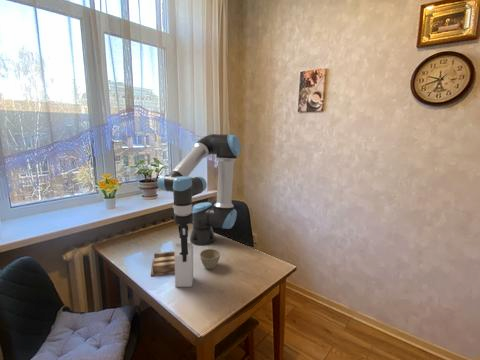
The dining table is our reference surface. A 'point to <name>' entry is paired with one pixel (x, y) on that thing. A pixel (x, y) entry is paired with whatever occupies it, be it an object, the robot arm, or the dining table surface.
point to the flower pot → (210, 258)
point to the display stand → (163, 264)
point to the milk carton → (185, 274)
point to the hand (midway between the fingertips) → (183, 259)
